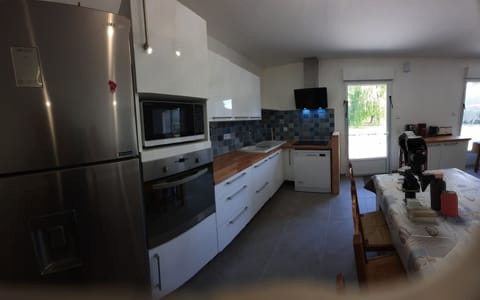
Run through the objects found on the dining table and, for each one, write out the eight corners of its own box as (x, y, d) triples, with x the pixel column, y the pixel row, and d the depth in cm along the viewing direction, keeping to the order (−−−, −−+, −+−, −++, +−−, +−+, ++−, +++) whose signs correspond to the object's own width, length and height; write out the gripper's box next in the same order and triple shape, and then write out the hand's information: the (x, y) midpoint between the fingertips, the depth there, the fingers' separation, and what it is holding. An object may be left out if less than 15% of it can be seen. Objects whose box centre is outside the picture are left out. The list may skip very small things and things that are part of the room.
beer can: (450, 211, 125) (449, 189, 124) (462, 216, 118) (461, 192, 117) (437, 213, 125) (437, 191, 124) (449, 218, 118) (448, 194, 117)
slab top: (405, 210, 126) (405, 206, 126) (426, 210, 124) (426, 205, 124) (413, 217, 117) (413, 212, 117) (436, 217, 115) (436, 212, 114)
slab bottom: (406, 214, 127) (406, 210, 127) (428, 214, 123) (428, 210, 123) (412, 221, 118) (411, 216, 118) (435, 222, 114) (435, 217, 114)
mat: (404, 213, 129) (404, 212, 129) (429, 214, 125) (429, 213, 125) (411, 223, 116) (411, 223, 116) (439, 225, 112) (439, 224, 112)
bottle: (440, 212, 126) (439, 175, 124) (427, 208, 132) (426, 173, 130) (450, 209, 127) (449, 173, 126) (436, 206, 134) (435, 171, 132)
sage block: (407, 208, 135) (406, 198, 134) (417, 209, 133) (417, 198, 132) (409, 212, 130) (409, 201, 130) (420, 212, 128) (420, 201, 128)
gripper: (388, 159, 134) (390, 186, 136) (412, 165, 116) (414, 196, 117) (408, 157, 134) (409, 184, 136) (435, 163, 115) (436, 194, 117)
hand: (416, 189), depth 127 cm, fingers open, 9 cm apart
